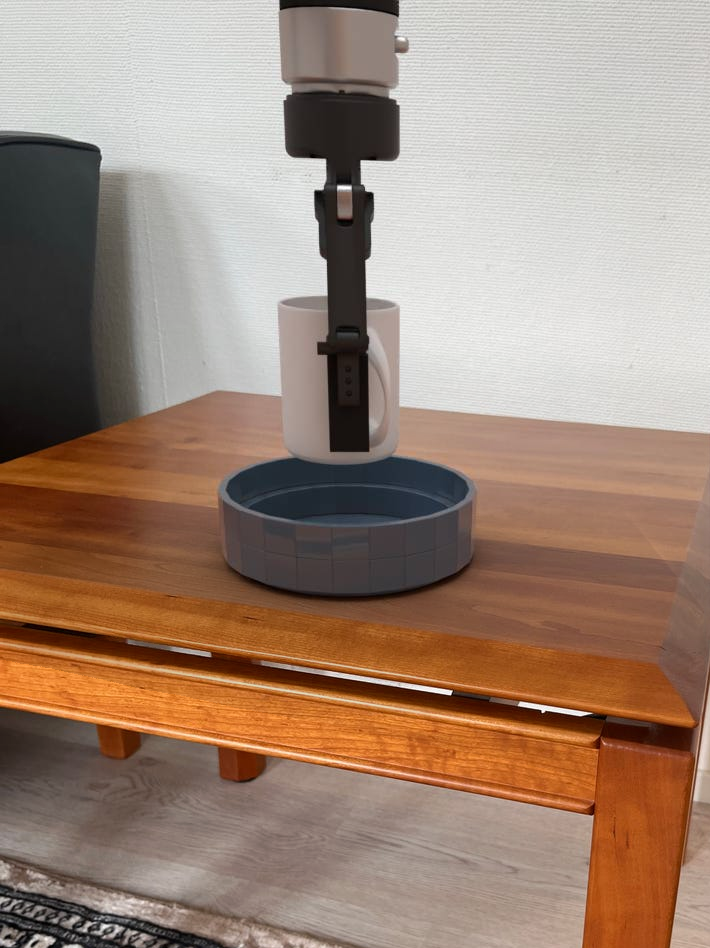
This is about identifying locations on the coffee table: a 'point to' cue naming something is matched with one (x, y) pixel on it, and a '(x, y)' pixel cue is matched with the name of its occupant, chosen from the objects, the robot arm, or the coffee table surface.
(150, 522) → the coffee table surface
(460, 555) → the bowl
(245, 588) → the coffee table surface
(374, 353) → the mug
